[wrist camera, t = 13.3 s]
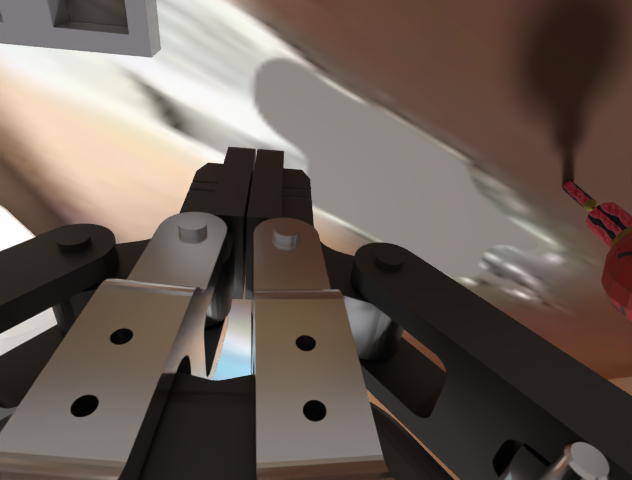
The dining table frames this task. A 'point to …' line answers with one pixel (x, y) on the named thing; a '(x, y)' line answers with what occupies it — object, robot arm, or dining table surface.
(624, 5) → the dining table surface
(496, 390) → the robot arm
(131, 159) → the dining table surface
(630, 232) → the lantern
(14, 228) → the bowl
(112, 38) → the frame
